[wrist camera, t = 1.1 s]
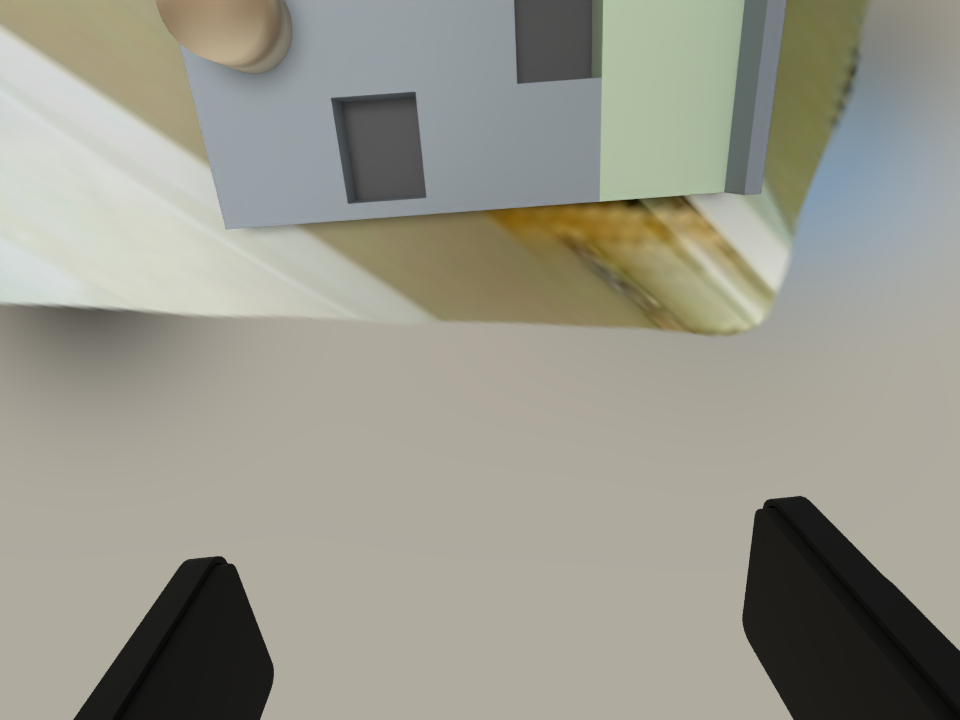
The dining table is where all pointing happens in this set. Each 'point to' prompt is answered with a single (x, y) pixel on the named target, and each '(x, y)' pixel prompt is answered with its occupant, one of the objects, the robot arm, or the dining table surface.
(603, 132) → the board
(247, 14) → the tan short rounded piece
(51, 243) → the dining table surface
